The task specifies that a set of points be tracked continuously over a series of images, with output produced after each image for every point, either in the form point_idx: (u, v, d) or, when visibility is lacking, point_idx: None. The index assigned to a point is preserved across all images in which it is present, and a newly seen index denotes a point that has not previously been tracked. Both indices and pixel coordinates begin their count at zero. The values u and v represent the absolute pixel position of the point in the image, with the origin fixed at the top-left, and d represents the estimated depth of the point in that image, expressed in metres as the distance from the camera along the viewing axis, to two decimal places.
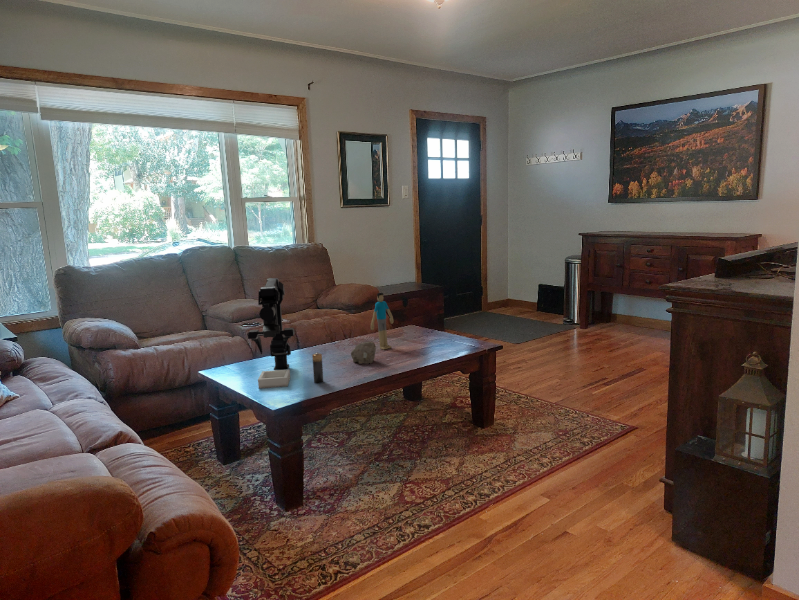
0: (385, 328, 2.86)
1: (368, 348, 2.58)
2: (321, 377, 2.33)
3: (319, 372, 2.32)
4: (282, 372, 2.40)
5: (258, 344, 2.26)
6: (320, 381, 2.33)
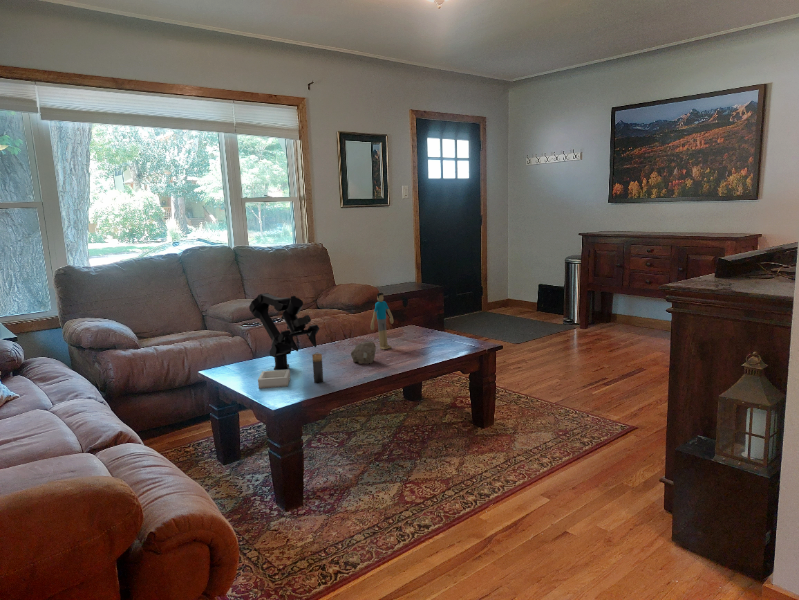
0: (385, 328, 2.86)
1: (368, 348, 2.58)
2: (321, 377, 2.33)
3: (319, 372, 2.32)
4: (282, 372, 2.40)
5: (293, 341, 2.36)
6: (320, 381, 2.33)
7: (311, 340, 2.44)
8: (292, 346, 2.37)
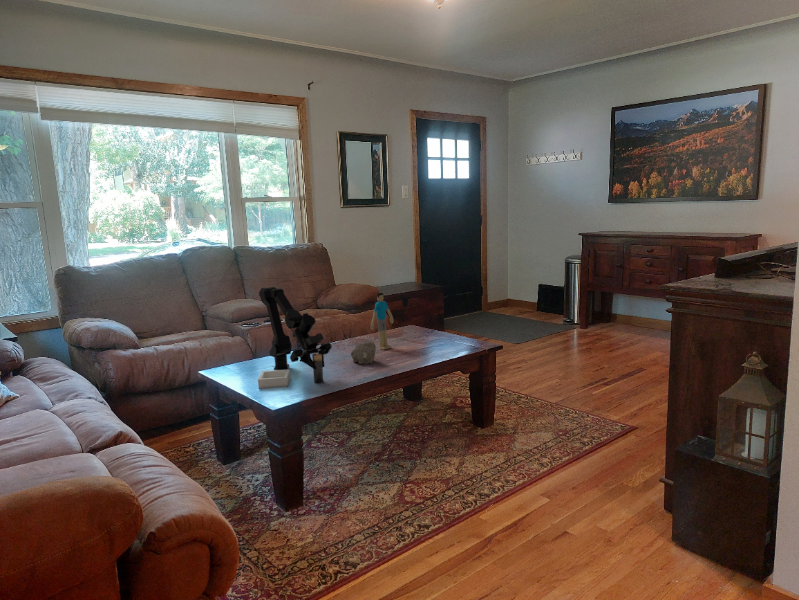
0: (385, 328, 2.86)
1: (368, 348, 2.58)
2: (321, 377, 2.33)
3: (319, 372, 2.32)
4: (282, 372, 2.40)
5: (310, 359, 2.32)
6: (320, 381, 2.33)
7: None
8: (309, 364, 2.32)
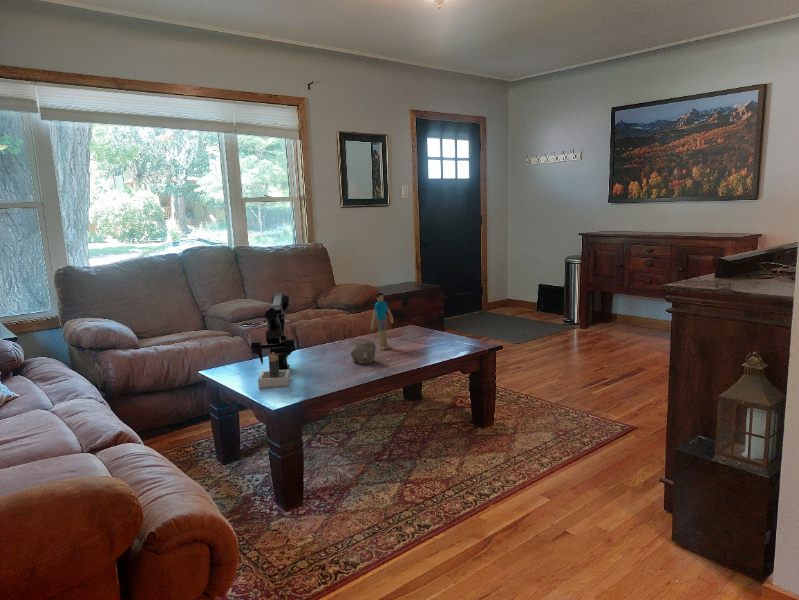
0: (385, 328, 2.86)
1: (368, 348, 2.58)
2: (274, 377, 2.33)
3: (272, 372, 2.32)
4: (282, 372, 2.40)
5: (260, 353, 2.33)
6: None
7: None
8: (260, 358, 2.34)
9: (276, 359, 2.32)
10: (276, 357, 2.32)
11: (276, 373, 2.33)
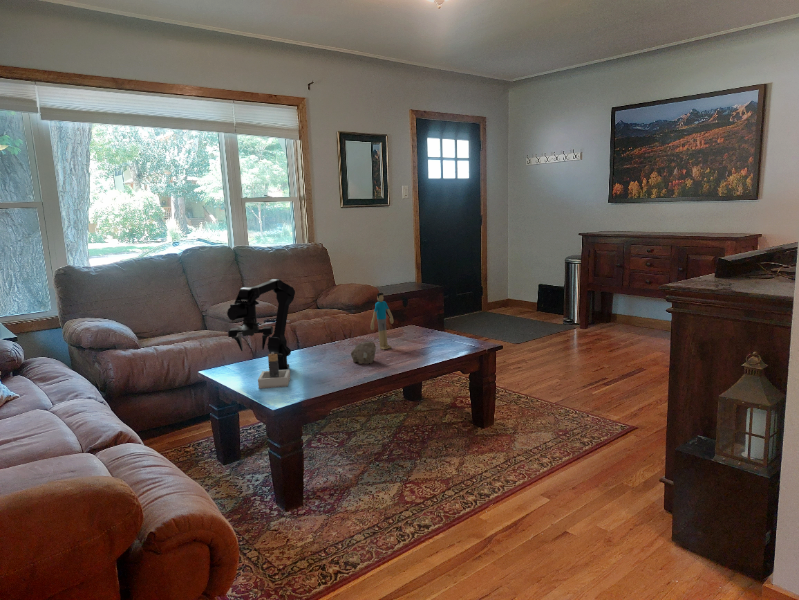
0: (385, 328, 2.86)
1: (368, 348, 2.58)
2: (273, 377, 2.33)
3: (272, 371, 2.32)
4: (282, 372, 2.40)
5: (238, 342, 2.39)
6: None
7: None
8: None
9: (275, 359, 2.32)
10: (275, 357, 2.32)
11: (276, 373, 2.33)
